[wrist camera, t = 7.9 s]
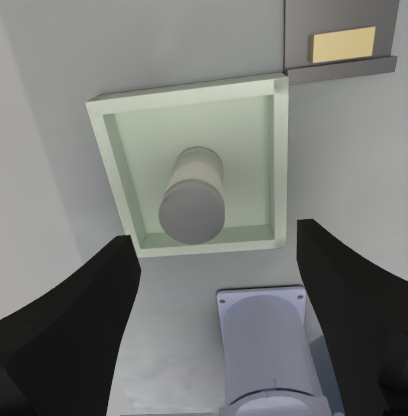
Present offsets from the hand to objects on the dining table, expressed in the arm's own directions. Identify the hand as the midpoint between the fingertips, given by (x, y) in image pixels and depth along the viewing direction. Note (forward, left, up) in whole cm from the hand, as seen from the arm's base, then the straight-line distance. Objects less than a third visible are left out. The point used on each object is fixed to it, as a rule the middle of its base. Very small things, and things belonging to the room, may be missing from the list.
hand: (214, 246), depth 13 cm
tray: (0, +1, -10) cm, 10 cm away
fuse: (0, +1, -9) cm, 9 cm away
